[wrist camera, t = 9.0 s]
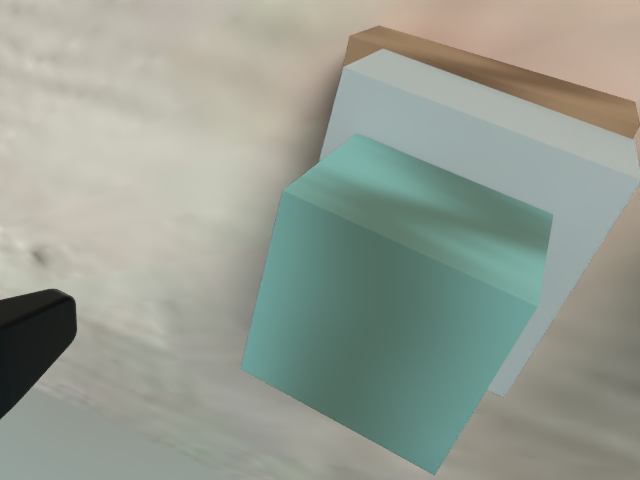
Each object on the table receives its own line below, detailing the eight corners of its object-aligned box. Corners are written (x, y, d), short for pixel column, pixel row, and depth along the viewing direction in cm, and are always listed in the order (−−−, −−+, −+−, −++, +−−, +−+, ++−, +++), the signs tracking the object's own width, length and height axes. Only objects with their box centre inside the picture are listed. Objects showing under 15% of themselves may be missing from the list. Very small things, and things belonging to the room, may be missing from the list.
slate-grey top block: (634, 140, 14) (641, 179, 12) (516, 337, 18) (503, 397, 15) (383, 48, 16) (343, 66, 13) (324, 247, 19) (284, 289, 17)
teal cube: (553, 214, 13) (537, 306, 9) (469, 364, 15) (434, 474, 12) (357, 133, 14) (282, 190, 11) (310, 285, 16) (240, 368, 13)
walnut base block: (634, 98, 16) (639, 124, 14) (527, 306, 21) (517, 354, 18) (382, 24, 18) (349, 36, 16) (333, 227, 23) (301, 260, 20)
